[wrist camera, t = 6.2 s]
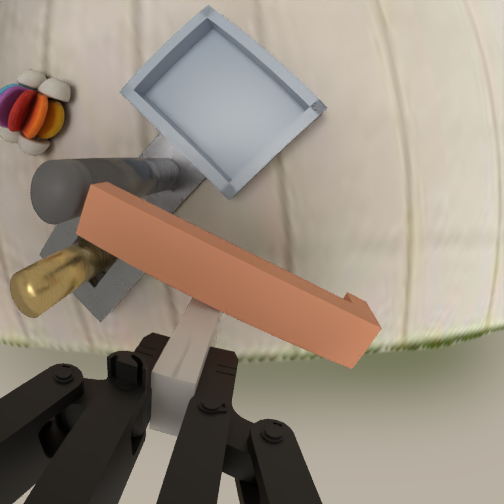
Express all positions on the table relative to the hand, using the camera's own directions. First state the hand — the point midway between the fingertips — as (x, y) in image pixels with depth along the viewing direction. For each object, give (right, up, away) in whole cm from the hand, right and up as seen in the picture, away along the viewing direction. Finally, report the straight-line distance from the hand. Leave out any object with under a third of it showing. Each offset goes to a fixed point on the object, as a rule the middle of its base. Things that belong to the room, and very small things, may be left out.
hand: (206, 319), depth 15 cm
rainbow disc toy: (-21, +19, +13) cm, 31 cm away
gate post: (-6, +11, +14) cm, 18 cm away
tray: (0, +17, +11) cm, 20 cm away
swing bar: (0, +4, 0) cm, 4 cm away
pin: (-13, +4, +16) cm, 21 cm away
